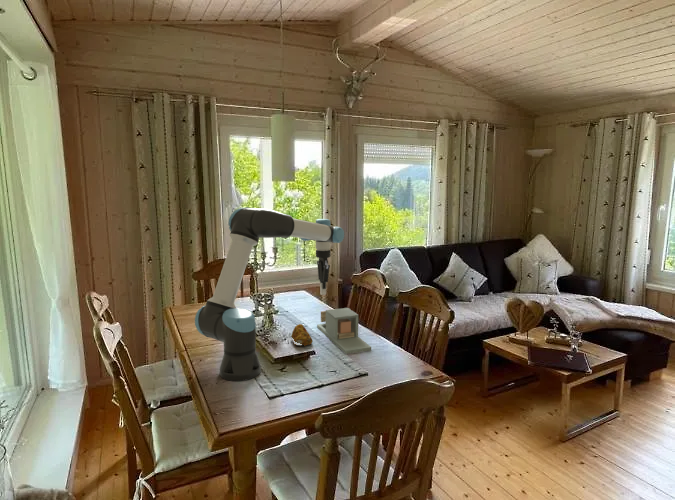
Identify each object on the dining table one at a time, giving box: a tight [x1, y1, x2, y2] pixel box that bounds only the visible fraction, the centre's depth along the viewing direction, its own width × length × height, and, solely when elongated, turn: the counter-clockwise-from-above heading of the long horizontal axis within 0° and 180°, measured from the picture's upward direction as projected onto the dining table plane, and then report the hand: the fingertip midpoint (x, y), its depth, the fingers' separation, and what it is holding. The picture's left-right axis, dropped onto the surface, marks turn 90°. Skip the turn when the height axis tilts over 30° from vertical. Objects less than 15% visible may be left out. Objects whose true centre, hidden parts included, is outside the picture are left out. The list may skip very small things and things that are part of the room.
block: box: [338, 318, 351, 334], centre depth 195 cm, size 6×5×6 cm
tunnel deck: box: [316, 307, 372, 355], centre depth 196 cm, size 36×12×12 cm, turn 22°
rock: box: [290, 323, 313, 347], centre depth 190 cm, size 11×8×10 cm
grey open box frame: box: [320, 310, 354, 339], centre depth 204 cm, size 26×8×5 cm, turn 22°
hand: (323, 294), depth 219 cm, fingers closed
